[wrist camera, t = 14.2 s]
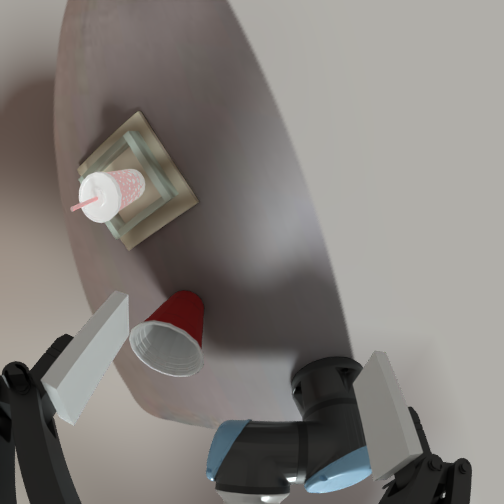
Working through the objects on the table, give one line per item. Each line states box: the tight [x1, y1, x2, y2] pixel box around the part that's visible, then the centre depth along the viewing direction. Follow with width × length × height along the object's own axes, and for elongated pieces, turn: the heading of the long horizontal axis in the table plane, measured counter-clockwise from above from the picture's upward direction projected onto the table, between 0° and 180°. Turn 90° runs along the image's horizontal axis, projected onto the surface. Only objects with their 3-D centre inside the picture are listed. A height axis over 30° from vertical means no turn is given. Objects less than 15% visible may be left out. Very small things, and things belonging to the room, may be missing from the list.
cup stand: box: [77, 111, 199, 251], centre depth 36 cm, size 16×14×4 cm
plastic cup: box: [129, 290, 204, 377], centre depth 39 cm, size 11×11×12 cm
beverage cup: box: [70, 169, 145, 223], centre depth 30 cm, size 6×6×14 cm
